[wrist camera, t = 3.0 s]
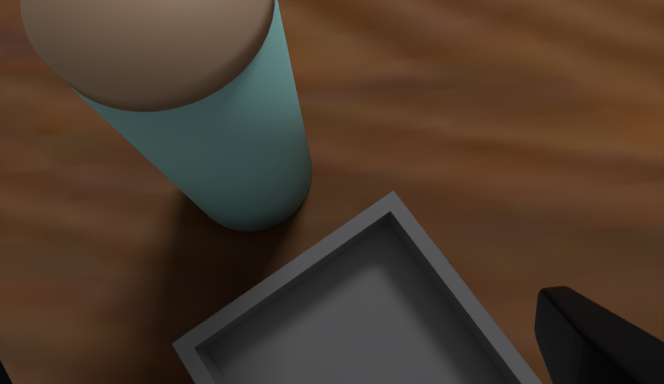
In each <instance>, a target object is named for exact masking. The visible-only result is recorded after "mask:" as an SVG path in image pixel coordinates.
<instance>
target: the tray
mask: <svg viewBox="0 0 664 384" xmlns="http://www.w3.org/2000/svg"><path fill="white" fill-rule="evenodd" d="M172 345H173V346H174V348H175V350H176V352H177V353H178V355H179V357H180V359H181V360H182V362H183V364H184V365H185V367H186V369H187V371H188V372H189V374H190V376H191V377H192V379H193V381H194V383H195V384H542V383H541V381H540V380H539V379H538V377H537V376H536V375H535V373H534V372H533V371H532V370H531V368H530V367H529V366H528V364H527V363H526V362H525V360H524V359H523V358H522V357H521V355H520V354H519V353H518V351H517V350H516V349H515V348H514V346H513V345H512V344H511V342H510V341H509V340H508V338H507V337H506V336H505V335H504V333H503V332H502V331H501V329H500V328H499V327H498V325H497V324H496V323H495V322H494V320H493V319H492V318H491V316H490V315H489V314H488V313H487V311H486V310H485V309H484V307H483V306H482V305H481V303H480V302H479V301H478V300H477V298H476V297H475V296H474V294H473V293H472V292H471V290H470V289H469V288H468V287H467V285H466V284H465V283H464V281H463V280H462V279H461V277H460V276H459V275H458V274H457V272H456V271H455V270H454V268H453V267H452V266H451V265H450V263H449V262H448V261H447V259H446V258H445V257H444V255H443V254H442V253H441V252H440V250H439V249H438V248H437V246H436V245H435V244H434V242H433V241H432V240H431V239H430V237H429V236H428V235H427V233H426V232H425V231H424V230H423V228H422V227H421V226H420V224H419V223H418V222H417V220H416V219H415V218H414V217H413V215H412V214H411V213H410V211H409V210H408V209H407V207H406V206H405V205H404V204H403V202H402V201H401V200H400V198H399V197H398V196H397V195H396V193H395V192H394V191H392V192H391V193H389V194H388V195H386V196H385V197H383V198H382V199H380V200H379V201H378V202H376V203H375V204H373V205H372V206H370V207H369V208H367V209H366V210H364V211H363V212H362V213H360V214H359V215H357V216H356V217H354V218H353V219H351V220H350V221H349V222H347V223H346V224H344V225H343V226H341V227H340V228H338V229H337V230H336V231H334V232H333V233H331V234H330V235H328V236H327V237H325V238H324V239H323V240H321V241H320V242H318V243H317V244H315V245H314V246H312V247H311V248H309V249H308V250H307V251H305V252H304V253H302V254H301V255H299V256H298V257H296V258H295V259H294V260H292V261H291V262H289V263H288V264H286V265H285V266H283V267H282V268H281V269H279V270H278V271H276V272H275V273H273V274H272V275H270V276H269V277H267V278H266V279H265V280H263V281H262V282H260V283H259V284H257V285H256V286H254V287H253V288H252V289H250V290H249V291H247V292H246V293H244V294H243V295H241V296H240V297H239V298H237V299H236V300H234V301H233V302H231V303H230V304H228V305H227V306H225V307H224V308H223V309H221V310H220V311H218V312H217V313H215V314H214V315H212V316H211V317H210V318H208V319H207V320H205V321H204V322H202V323H201V324H199V325H198V326H197V327H195V328H194V329H192V330H191V331H189V332H188V333H186V334H185V335H183V336H182V337H181V338H179V339H178V340H176V341H175V342H173V343H172Z"/></svg>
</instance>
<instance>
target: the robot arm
mask: <svg viewBox="0 0 664 384" xmlns="http://www.w3.org/2000/svg"><path fill="white" fill-rule="evenodd" d="M535 336H536V340H537V343H538V345H539V348H540V351H541V353H542V356H543V359H544V362H545V364H546V367H547V370H548V372H549V375H550V378H551V380H552V383H553V384H664V342H663V341H661V340H660V339H658V338H656V337H654V336H653V335H651V334H649V333H647V332H646V331H644V330H642V329H640V328H639V327H637V326H635V325H633V324H632V323H630V322H628V321H626V320H625V319H623V318H621V317H619V316H618V315H616V314H614V313H612V312H611V311H609V310H607V309H606V308H604V307H602V306H600V305H599V304H597V303H595V302H593V301H592V300H590V299H588V298H586V297H585V296H583V295H581V294H579V293H578V292H576V291H574V290H572V289H571V288H569V287H566V286H557V287H547V288H543V289H541V290H540V291H539V294H538V299H537V308H536V318H535ZM0 384H12V382H11V380H10V378H9V376H8V374H7V372H6V370H5V368H4V366H3V364H2V363H1V361H0Z"/></svg>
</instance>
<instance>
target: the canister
mask: <svg viewBox="0 0 664 384" xmlns="http://www.w3.org/2000/svg"><path fill="white" fill-rule="evenodd" d="M21 14H22V21H23V25H24V28H25V31H26V34H27V36H28V38H29V40H30V42H31V44H32V46H33V48H34V49H35V51H36V52H37V54H38V55H39V56H40V58H41V59H42V60H43V61H44V62H45V63H46V64H47V65H48V66H49V67H50V68H51V69H52V70H53V71H54V72H55V73H56V74H57V75H59V76H60V77H61V78H62V79H63V80H64V81H65V82H66V83H67V84H68V85H69V86H70V87H71V88H72V89H73V90H75V91H76V92H77V93H78V94H79V95H80V96H81V97H82V98H83V99H84V100H85V101H86V102H87V103H88V104H89V105H91V106H92V107H93V108H94V109H95V110H96V111H97V112H98V113H99V114H100V115H101V116H102V117H103V118H104V119H105V120H106V121H108V122H109V123H110V124H111V125H112V126H113V127H114V128H115V129H116V130H117V131H118V132H119V133H120V134H121V135H122V136H124V137H125V138H126V139H127V140H128V141H129V142H130V143H131V144H132V145H133V146H134V147H135V148H136V149H137V150H138V151H139V152H141V153H142V154H143V155H144V156H145V157H146V158H147V159H148V160H149V161H150V162H151V163H152V164H153V165H154V166H155V167H157V168H158V169H159V170H160V171H161V172H162V173H163V174H164V175H165V176H166V177H167V178H168V179H169V180H170V181H171V182H172V183H174V184H175V185H176V186H177V187H178V188H179V189H180V190H181V191H182V192H183V193H184V194H185V195H186V196H187V197H188V198H190V199H191V200H192V201H193V202H194V203H195V204H196V205H197V206H198V207H199V208H200V209H201V210H202V211H203V212H204V213H205V214H207V215H208V216H209V217H210V218H211V219H212V220H214V221H215V222H216V223H218V224H220V225H222V226H224V227H226V228H229V229H232V230H237V231H244V232H254V231H261V230H265V229H268V228H271V227H274V226H276V225H278V224H280V223H282V222H283V221H285V220H286V219H288V218H289V217H290V216H291V215H292V214H293V213H294V212H295V211H296V210H297V209H298V208H299V207H300V205H301V204H302V203H303V201H304V199H305V198H306V195H307V193H308V191H309V188H310V184H311V178H312V164H311V158H310V153H309V149H308V144H307V139H306V134H305V130H304V125H303V120H302V115H301V111H300V106H299V101H298V96H297V92H296V87H295V82H294V77H293V73H292V68H291V63H290V58H289V54H288V49H287V44H286V39H285V35H284V30H283V25H282V20H281V16H280V11H279V6H278V1H277V0H21Z"/></svg>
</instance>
